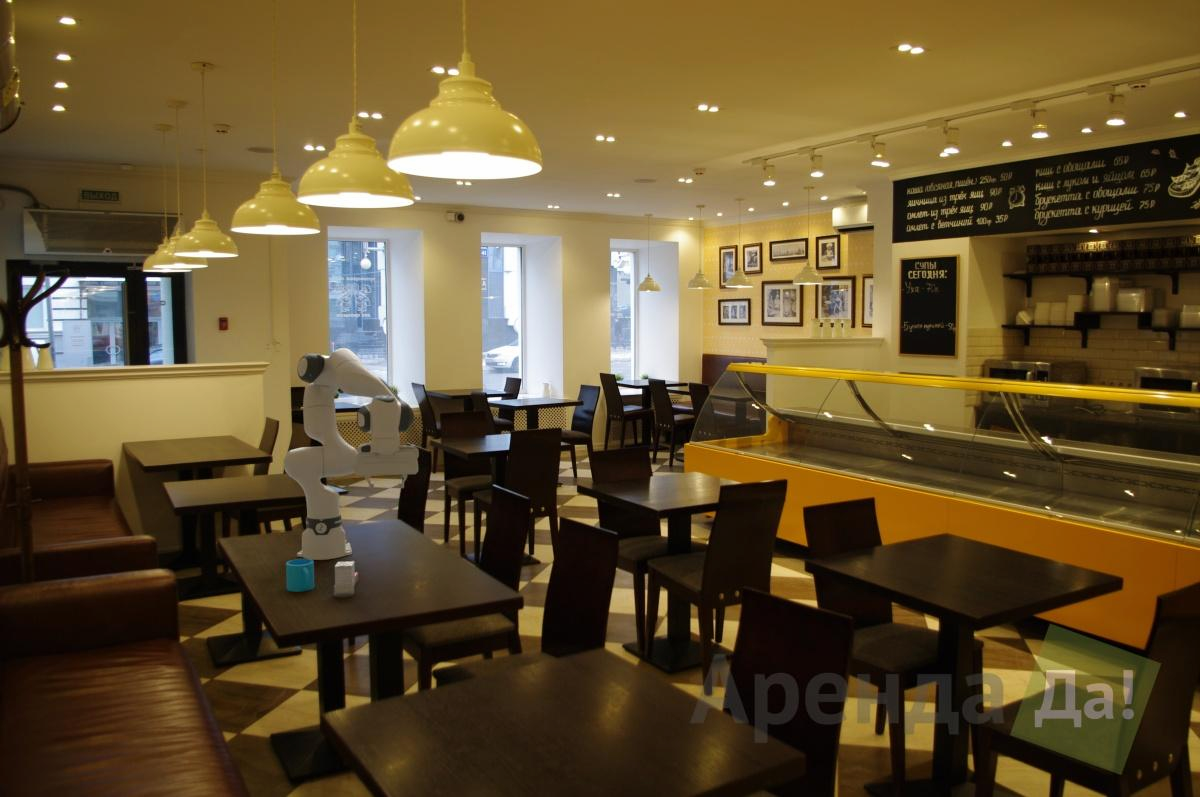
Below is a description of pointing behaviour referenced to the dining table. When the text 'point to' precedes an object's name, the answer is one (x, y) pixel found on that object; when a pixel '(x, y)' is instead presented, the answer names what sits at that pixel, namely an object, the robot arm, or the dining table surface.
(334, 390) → the robot arm
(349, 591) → the ratchet
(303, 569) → the mug
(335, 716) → the dining table surface
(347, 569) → the brushed steel block
